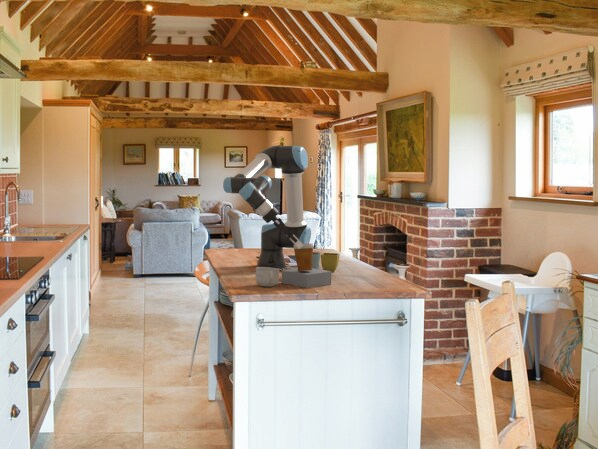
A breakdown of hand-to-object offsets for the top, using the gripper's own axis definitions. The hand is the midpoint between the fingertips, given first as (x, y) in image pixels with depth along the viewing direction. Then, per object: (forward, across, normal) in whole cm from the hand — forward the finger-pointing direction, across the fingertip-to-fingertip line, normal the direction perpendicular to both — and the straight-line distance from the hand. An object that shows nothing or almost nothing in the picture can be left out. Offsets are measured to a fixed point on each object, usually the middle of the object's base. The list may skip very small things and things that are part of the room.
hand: (299, 245), depth 298 cm
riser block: (+15, 0, -10) cm, 18 cm away
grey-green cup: (+18, -19, -8) cm, 27 cm away
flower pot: (+27, -39, +2) cm, 48 cm away
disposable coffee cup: (+10, +4, -6) cm, 12 cm away
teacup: (+2, +7, -23) cm, 24 cm away
